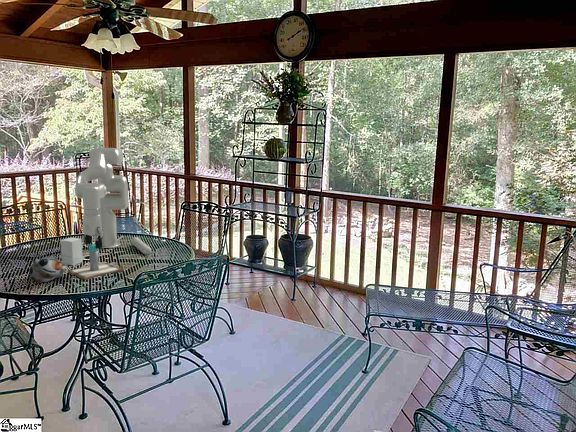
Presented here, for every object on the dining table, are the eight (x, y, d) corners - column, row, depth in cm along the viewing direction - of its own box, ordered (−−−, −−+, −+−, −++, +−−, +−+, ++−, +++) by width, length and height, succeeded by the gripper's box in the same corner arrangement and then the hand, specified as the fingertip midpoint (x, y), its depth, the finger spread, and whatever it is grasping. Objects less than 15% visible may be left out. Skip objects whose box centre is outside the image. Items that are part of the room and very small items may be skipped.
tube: (154, 248, 272) (141, 238, 292) (144, 246, 269) (132, 236, 289) (151, 257, 272) (138, 246, 293) (142, 255, 269) (129, 244, 289)
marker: (88, 269, 237) (87, 245, 235) (96, 268, 241) (95, 244, 238) (92, 271, 235) (91, 247, 232) (100, 270, 238) (99, 245, 236)
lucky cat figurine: (64, 272, 235) (71, 251, 229) (60, 290, 225) (67, 267, 219) (30, 266, 229) (36, 244, 223) (25, 283, 219) (30, 260, 213)
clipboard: (68, 272, 236) (68, 269, 236) (106, 264, 251) (106, 261, 251) (85, 280, 226) (85, 276, 226) (123, 271, 241) (123, 267, 241)
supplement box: (83, 262, 254) (82, 238, 251) (72, 265, 247) (71, 241, 244) (71, 260, 256) (70, 237, 254) (61, 263, 249) (60, 240, 247)
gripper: (75, 209, 235) (77, 243, 238) (94, 215, 224) (95, 251, 228) (90, 207, 240) (91, 241, 244) (109, 213, 230) (110, 248, 233)
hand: (93, 245), depth 236 cm, fingers open, 9 cm apart
